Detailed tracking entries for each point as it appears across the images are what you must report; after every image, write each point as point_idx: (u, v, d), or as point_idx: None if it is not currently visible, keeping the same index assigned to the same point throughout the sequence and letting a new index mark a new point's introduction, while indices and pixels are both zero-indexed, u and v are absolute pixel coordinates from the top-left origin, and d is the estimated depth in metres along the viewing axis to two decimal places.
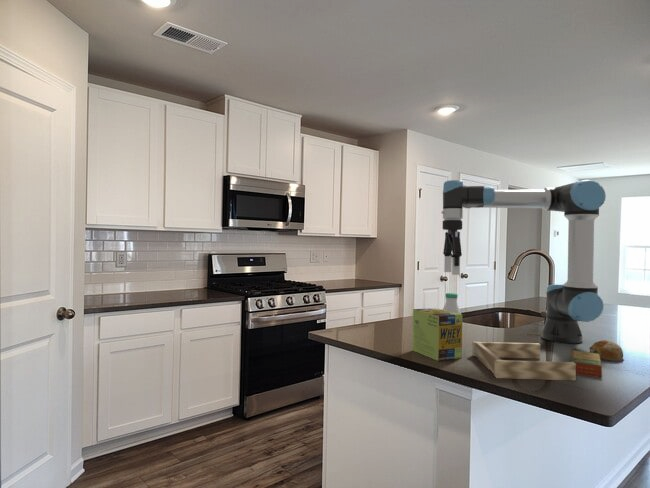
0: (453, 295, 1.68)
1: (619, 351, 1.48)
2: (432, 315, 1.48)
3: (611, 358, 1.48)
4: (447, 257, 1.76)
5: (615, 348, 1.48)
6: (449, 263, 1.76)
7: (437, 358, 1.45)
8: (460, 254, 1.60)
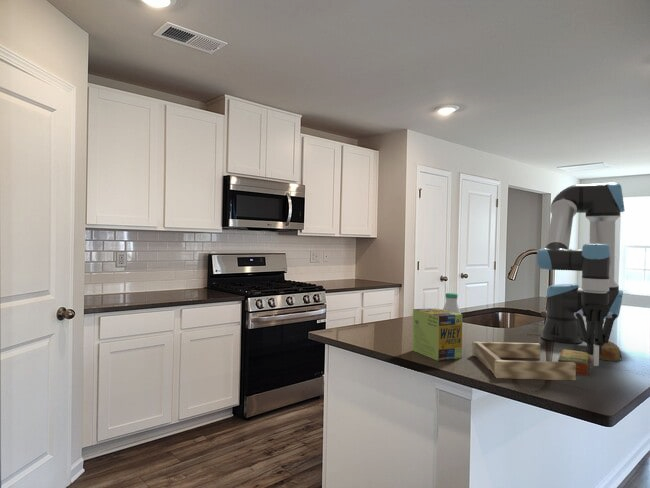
0: (453, 295, 1.68)
1: (617, 351, 1.48)
2: (432, 315, 1.48)
3: (609, 358, 1.48)
4: None
5: (613, 348, 1.48)
6: None
7: (437, 358, 1.45)
8: (584, 341, 1.37)
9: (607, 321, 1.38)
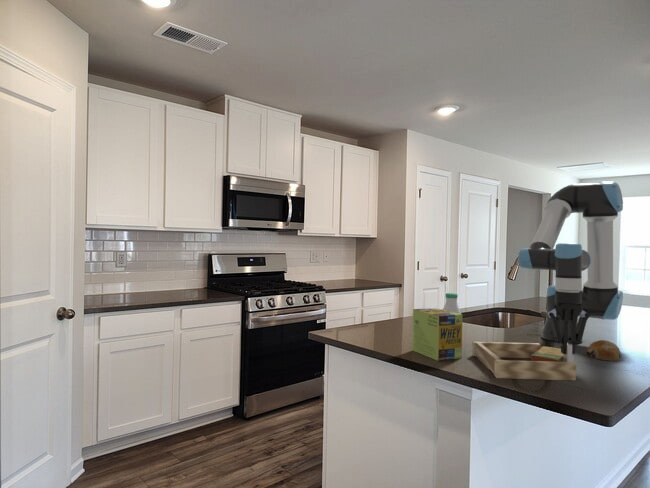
0: (453, 295, 1.68)
1: (616, 351, 1.48)
2: (432, 315, 1.48)
3: (608, 358, 1.48)
4: None
5: (613, 348, 1.48)
6: None
7: (437, 358, 1.45)
8: (558, 341, 1.38)
9: (580, 320, 1.38)
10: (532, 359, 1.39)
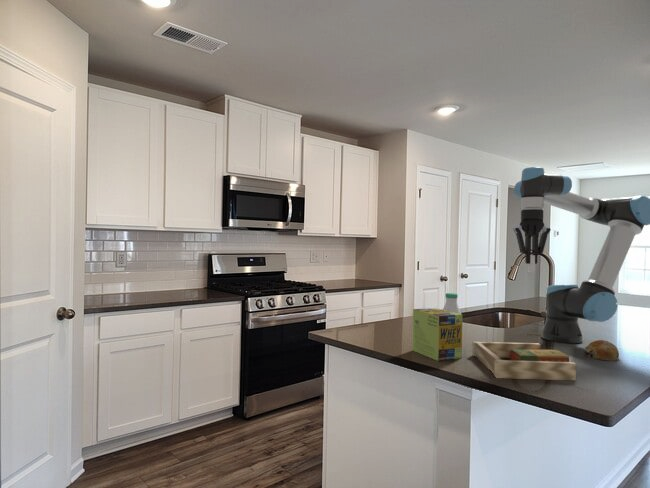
0: (453, 295, 1.68)
1: (615, 351, 1.49)
2: (432, 315, 1.48)
3: (607, 358, 1.48)
4: None
5: (611, 348, 1.49)
6: None
7: (437, 358, 1.45)
8: (522, 252, 1.59)
9: (542, 234, 1.59)
10: (510, 352, 1.48)
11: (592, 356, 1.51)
